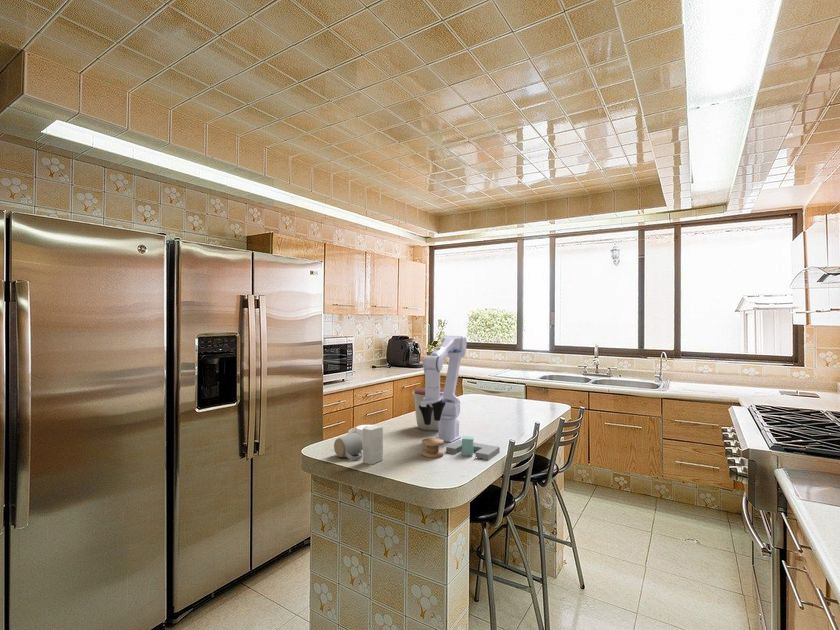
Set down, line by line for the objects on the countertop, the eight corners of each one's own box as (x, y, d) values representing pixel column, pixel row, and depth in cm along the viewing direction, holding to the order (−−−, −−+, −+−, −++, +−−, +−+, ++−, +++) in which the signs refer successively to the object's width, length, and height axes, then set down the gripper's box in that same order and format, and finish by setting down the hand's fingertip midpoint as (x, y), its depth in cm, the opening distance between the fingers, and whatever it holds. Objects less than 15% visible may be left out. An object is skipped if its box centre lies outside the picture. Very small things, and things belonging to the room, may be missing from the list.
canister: (405, 425, 203) (406, 380, 203) (440, 422, 210) (440, 378, 210) (422, 435, 186) (422, 386, 186) (458, 431, 194) (459, 383, 194)
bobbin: (428, 449, 166) (428, 436, 166) (447, 453, 161) (447, 440, 161) (417, 455, 159) (417, 441, 159) (436, 459, 155) (436, 445, 155)
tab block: (462, 451, 164) (462, 436, 164) (473, 452, 163) (473, 436, 163) (461, 455, 160) (461, 438, 160) (472, 455, 159) (472, 439, 159)
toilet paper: (345, 445, 170) (345, 428, 170) (368, 440, 178) (369, 423, 178) (357, 450, 164) (358, 432, 164) (381, 444, 172) (381, 427, 172)
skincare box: (374, 458, 156) (374, 424, 156) (383, 460, 153) (383, 426, 153) (361, 462, 151) (362, 427, 151) (370, 465, 148) (370, 430, 148)
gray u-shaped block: (458, 445, 172) (458, 440, 172) (499, 452, 163) (499, 446, 163) (446, 452, 163) (446, 447, 163) (488, 460, 154) (488, 454, 154)
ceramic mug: (332, 455, 158) (332, 434, 158) (350, 450, 164) (351, 430, 164) (349, 463, 150) (349, 441, 150) (368, 458, 156) (368, 436, 156)
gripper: (432, 383, 174) (432, 417, 174) (413, 388, 162) (413, 425, 162) (448, 385, 171) (448, 419, 171) (430, 390, 158) (429, 427, 158)
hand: (432, 422), depth 166 cm, fingers open, 7 cm apart
